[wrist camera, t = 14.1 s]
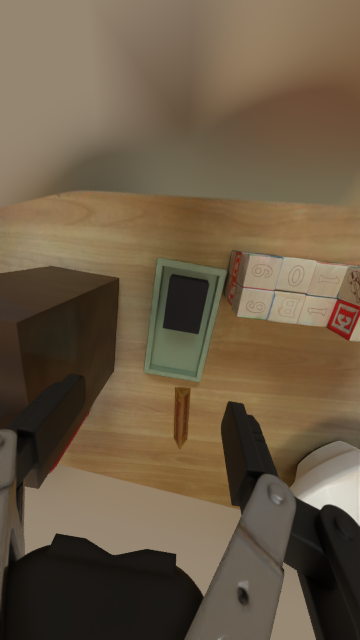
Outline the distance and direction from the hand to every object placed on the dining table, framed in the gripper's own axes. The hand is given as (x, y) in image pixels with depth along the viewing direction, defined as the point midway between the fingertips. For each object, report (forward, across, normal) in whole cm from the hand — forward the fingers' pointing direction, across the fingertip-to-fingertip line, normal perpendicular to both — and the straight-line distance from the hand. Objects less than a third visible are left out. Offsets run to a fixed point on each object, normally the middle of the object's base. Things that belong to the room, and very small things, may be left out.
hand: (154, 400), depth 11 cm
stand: (+20, +14, +6) cm, 25 cm away
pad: (+19, -1, -1) cm, 19 cm away
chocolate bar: (+20, -4, +21) cm, 29 cm away
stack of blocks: (+20, -17, -6) cm, 27 cm away
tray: (+20, -1, +3) cm, 20 cm away
